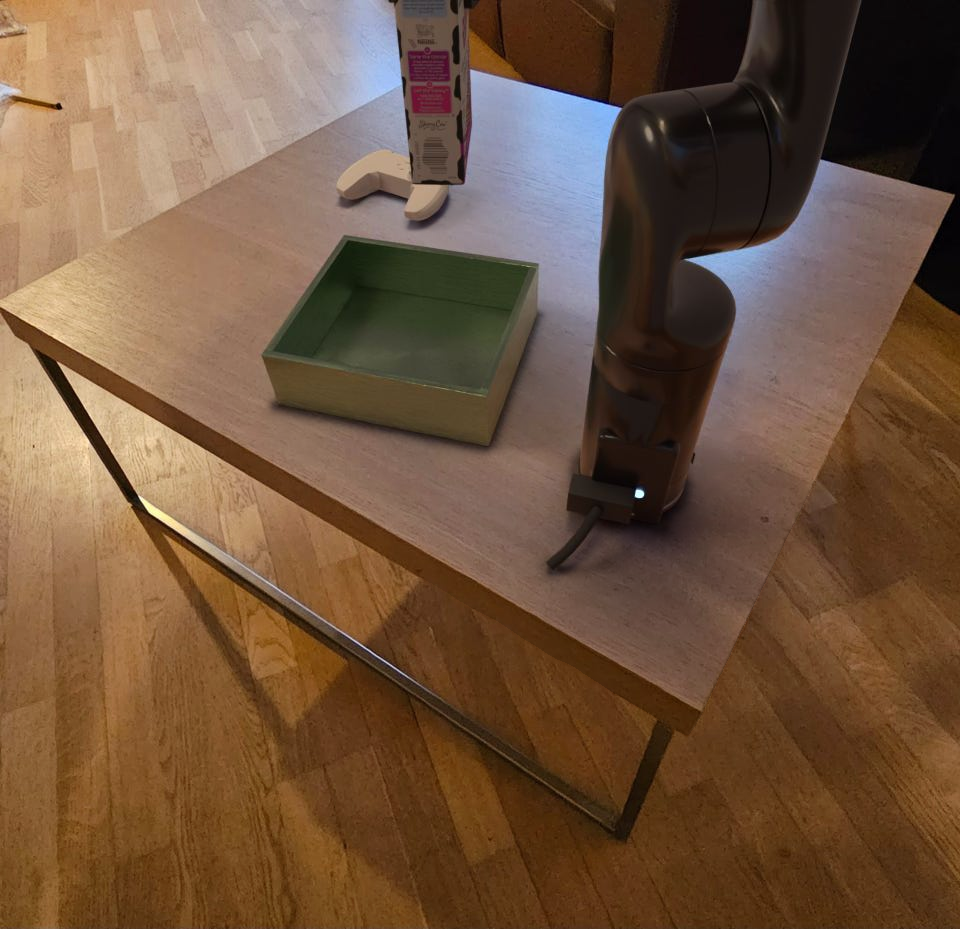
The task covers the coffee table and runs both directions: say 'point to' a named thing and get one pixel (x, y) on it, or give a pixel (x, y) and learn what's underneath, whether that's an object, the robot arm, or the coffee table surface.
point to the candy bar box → (435, 88)
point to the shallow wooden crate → (407, 338)
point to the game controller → (391, 183)
